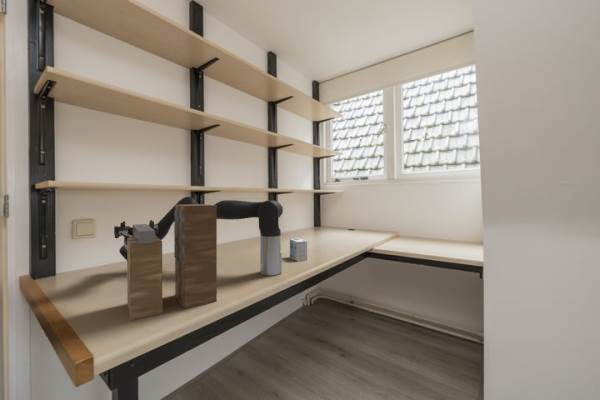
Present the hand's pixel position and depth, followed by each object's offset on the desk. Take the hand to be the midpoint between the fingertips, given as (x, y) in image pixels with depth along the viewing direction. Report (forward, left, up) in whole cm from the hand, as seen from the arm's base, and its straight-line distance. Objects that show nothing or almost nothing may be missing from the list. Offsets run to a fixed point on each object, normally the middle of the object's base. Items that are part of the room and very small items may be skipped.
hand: (138, 222), depth 95 cm
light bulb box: (-71, -32, -25) cm, 82 cm away
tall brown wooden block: (-21, +13, -25) cm, 35 cm away
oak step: (-6, +17, -25) cm, 31 cm away
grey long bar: (-5, +15, -4) cm, 16 cm away
